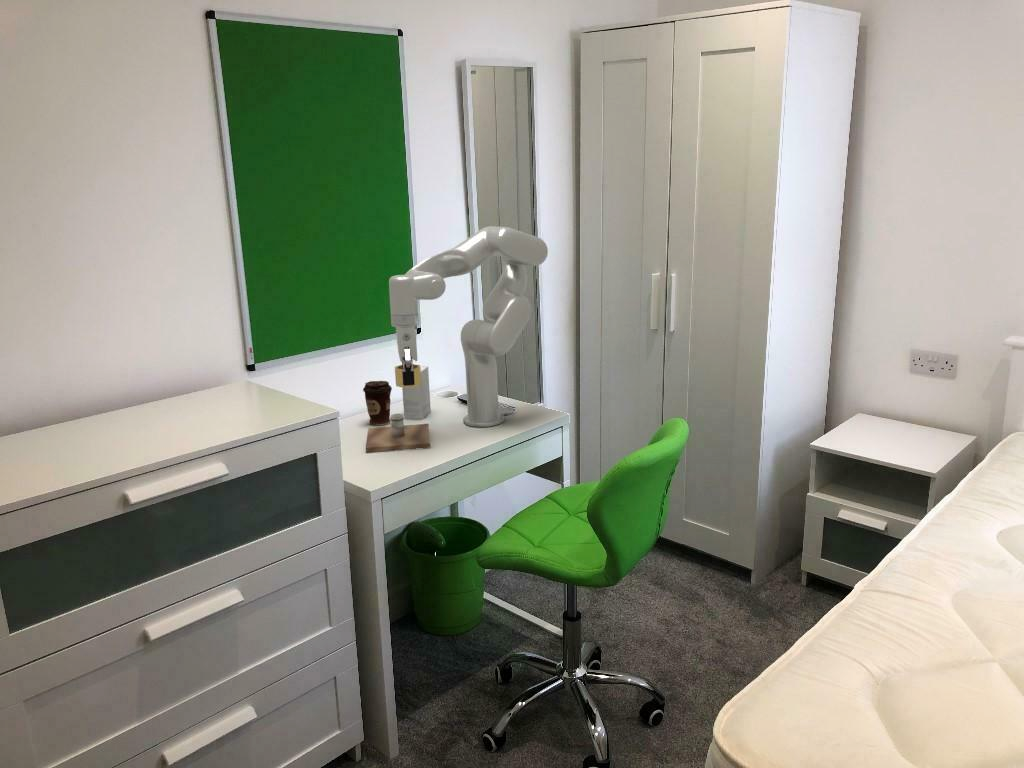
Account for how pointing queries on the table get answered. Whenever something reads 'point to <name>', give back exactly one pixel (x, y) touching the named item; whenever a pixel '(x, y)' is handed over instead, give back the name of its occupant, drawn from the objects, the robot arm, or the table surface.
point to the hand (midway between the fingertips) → (408, 381)
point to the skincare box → (417, 398)
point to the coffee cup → (378, 401)
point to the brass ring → (400, 377)
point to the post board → (397, 443)
